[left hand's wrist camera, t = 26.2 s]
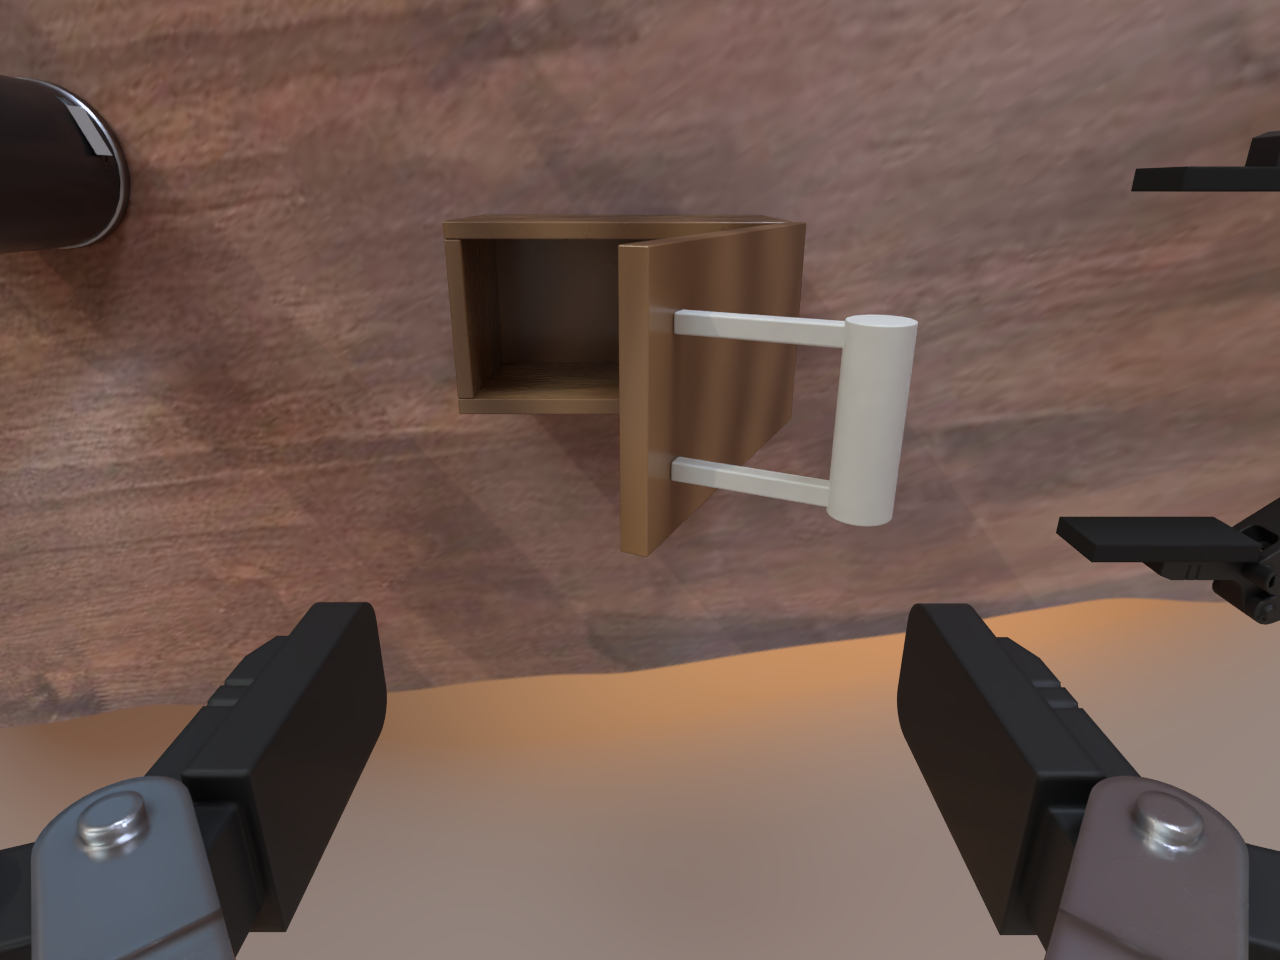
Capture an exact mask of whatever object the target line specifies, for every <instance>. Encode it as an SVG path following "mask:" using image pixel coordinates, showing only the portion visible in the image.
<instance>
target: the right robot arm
mask: <svg viewBox="0 0 1280 960" xmlns="http://www.w3.org/2000/svg"><path fill="white" fill-rule="evenodd" d="M1131 191H1280V131H1273V132H1267V133H1265V134H1262V135H1260V136H1257V137H1254V138H1252V142H1251V146H1250V149H1249V153H1248V157H1247V161H1246V164H1245V167H1167V168H1143V169H1136V172H1135V176H1134V181H1133V185H1132V190H1131ZM1056 533H1057V534H1058V535H1059V536H1060V537H1062V538H1063V539H1064V540H1065V541H1067V542H1068V543H1069V544H1070V545H1071V546H1073V547H1074V548H1075V549H1076V550H1077V551H1079V552H1080V553H1081V554H1082V555H1083V556H1085V557H1086V558H1087V559H1088V560H1090V561H1091V562H1143V563H1144V564H1145V565H1147V566H1148V567H1149V568H1151V569H1152V570H1153V571H1155V572H1156V573H1157V574H1159V575H1160V576H1163V577H1165V578H1168V579H1170V580H1185V579H1186V580H1195V579H1196V580H1214V581H1213V584H1212V589H1213V590H1214V592H1215V593H1216V594H1218V595H1219V596H1221V597H1222V598H1223V599H1225V600H1226V601H1228V602H1229V603H1230V604H1232V605H1233V606H1235V607H1236V608H1238V609H1239V610H1240V611H1242V612H1243V613H1245V614H1246V615H1248V616H1249V617H1251V618H1252V619H1253V620H1255V621H1256V622H1258V623H1260V624H1265V625H1266V624H1271V623H1274V622H1277V621H1279V620H1280V498H1278V499H1277V500H1275V501H1273V502H1272V503H1270V504H1268V505H1267V506H1265V507H1264V508H1262V509H1260V510H1259V511H1257V512H1256V513H1254V514H1252V515H1251V516H1249V517H1248V518H1246V519H1244V520H1243V521H1241V522H1240V523H1238V524H1236V525H1235V526H1233V527H1230V526H1229V525H1227V524H1225V523H1223V522H1222V521H1220V520H1218V519H1216V518H1215V517H1059V522H1058V527H1057V531H1056ZM1261 550H1262V552H1261Z"/></svg>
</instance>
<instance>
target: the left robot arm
mask: <svg viewBox="0 0 1280 960" xmlns="http://www.w3.org/2000/svg"><path fill="white" fill-rule="evenodd" d="M129 196H130V177H129V170H128V166H127V162H126V159H125V155H124V153H123V150H122V148H121V146H120V144H119V142H118V140H117V138H116V136H115V134H114V133H113V131H112V130H111V128H110V127H109V125H108V124H107V123H106V121H105V120H104V119H103V118H102V116H101V115H100V114H99V113H98V112H97V111H96V110H95V109H94V108H93V107H92V106H90V105H89V104H88V103H87V102H86V101H84V100H83V99H82V98H80V97H79V96H77V95H76V94H74V93H73V92H71V91H69V90H67V89H65V88H63V87H61V86H59V85H56V84H53V83H50V82H46V81H42V80H37V79H31V78H23V77H9V76H3V75H0V253H10V252H20V251H33V250H43V249H53V248H56V249H69V248H80V247H85V246H89V245H92V244H95V243H97V242H99V241H101V240H103V239H104V238H106V237H107V236H109V235H110V234H111V233H112V232H113V231H114V230H115V229H116V228H117V226H118V225H119V224H120V222H121V220H122V219H123V217H124V214H125V212H126V209H127V206H128V202H129ZM386 705H387V691H386V683H385V676H384V669H383V662H382V656H381V649H380V642H379V635H378V628H377V621H376V616H375V612H374V609H373V607H372V605H371V604H370V603H368V602H318V603H315V604H314V605H313V606H312V607H311V608H310V609H309V611H308V612H307V613H306V614H305V616H304V617H303V618H302V619H301V621H300V622H299V623H298V625H297V626H296V627H295V628H294V630H293V631H292V632H291V633H290V635H289V636H276V637H274V638H273V639H271V640H270V641H268V642H267V643H265V644H264V645H262V646H261V647H259V648H258V649H256V650H254V651H253V652H251V653H250V654H248V655H247V656H245V657H244V659H243V660H242V661H241V662H240V663H239V664H238V666H237V667H236V668H235V669H234V670H233V672H232V673H231V674H230V675H229V676H228V677H227V679H226V680H225V684H224V686H220V687H219V688H218V689H217V690H216V692H215V693H214V694H213V695H212V696H211V698H210V699H209V700H208V704H207V706H203V707H202V708H201V709H200V711H199V712H198V713H197V714H196V715H195V717H194V718H193V719H192V720H191V721H190V723H189V724H188V725H187V726H186V727H185V728H184V730H183V731H182V732H181V733H180V734H179V736H178V737H177V738H176V739H175V740H174V741H173V743H172V744H171V745H170V746H169V747H168V748H167V750H166V751H165V752H164V753H163V754H162V756H161V757H160V758H159V759H158V760H157V762H156V763H155V764H154V765H153V766H152V768H151V769H150V770H149V771H148V772H147V773H146V775H145V776H144V777H136V778H132V779H127V780H123V781H120V782H117V783H114V784H111V785H108V786H106V787H103V788H101V789H98V790H96V791H94V792H92V793H90V794H88V795H86V796H84V797H83V798H81V799H79V800H78V801H76V802H75V803H73V804H71V805H70V806H69V807H67V808H66V809H65V810H63V811H62V812H61V813H59V814H58V815H57V816H56V817H55V818H54V819H53V820H52V821H50V823H49V824H48V825H47V826H46V827H45V828H44V829H43V831H42V832H41V833H40V835H39V836H38V838H37V840H36V842H33V843H29V844H25V845H21V846H16V847H12V848H7V849H3V850H0V960H236V959H235V958H236V956H237V954H238V952H239V950H240V948H241V946H242V944H243V942H244V940H245V939H246V937H247V935H248V933H249V932H286V931H287V928H288V926H289V924H290V922H291V920H292V918H293V916H294V914H295V912H296V910H297V907H298V905H299V903H300V901H301V899H302V897H303V895H304V893H305V891H306V889H307V886H308V884H309V882H310V880H311V878H312V876H313V874H314V872H315V870H316V868H317V866H318V863H319V861H320V859H321V857H322V855H323V853H324V851H325V849H326V847H327V845H328V842H329V840H330V838H331V836H332V834H333V832H334V830H335V828H336V826H337V824H338V822H339V819H340V817H341V815H342V813H343V811H344V809H345V807H346V805H347V803H348V801H349V798H350V796H351V794H352V792H353V790H354V788H355V786H356V784H357V782H358V780H359V777H360V775H361V773H362V771H363V769H364V767H365V765H366V763H367V761H368V759H369V757H370V754H371V752H372V750H373V748H374V746H375V744H376V742H377V740H378V738H379V736H380V733H381V731H382V728H383V724H384V720H385V714H386ZM897 709H898V717H899V722H900V726H901V729H902V732H903V735H904V737H905V739H906V741H907V743H908V745H909V747H910V750H911V752H912V754H913V756H914V758H915V760H916V762H917V764H918V766H919V768H920V770H921V772H922V774H923V777H924V779H925V781H926V783H927V785H928V787H929V789H930V791H931V793H932V795H933V797H934V799H935V801H936V803H937V806H938V808H939V810H940V812H941V814H942V816H943V818H944V820H945V822H946V824H947V826H948V828H949V830H950V832H951V835H952V837H953V839H954V841H955V843H956V845H957V847H958V849H959V851H960V853H961V855H962V857H963V859H964V861H965V863H966V866H967V868H968V870H969V872H970V874H971V876H972V878H973V880H974V882H975V884H976V886H977V888H978V890H979V892H980V895H981V897H982V899H983V901H984V903H985V905H986V907H987V909H988V911H989V913H990V915H991V917H992V919H993V922H994V924H995V926H996V928H997V930H998V932H999V934H1000V935H1038V937H1039V939H1040V941H1041V943H1042V945H1043V947H1044V948H1045V951H1046V955H1045V959H1044V960H1280V851H1276V850H1272V849H1267V848H1263V847H1259V846H1254V845H1251V844H1247V843H1245V842H1244V839H1243V838H1242V836H1241V835H1240V833H1239V832H1238V831H1237V829H1236V828H1235V827H1234V826H1233V825H1232V824H1231V823H1230V822H1229V821H1228V820H1227V819H1226V818H1225V817H1224V816H1223V815H1222V814H1221V813H1219V812H1218V811H1217V810H1215V809H1214V808H1213V807H1211V806H1210V805H1209V804H1207V803H1205V802H1204V801H1202V800H1201V799H1199V798H1197V797H1196V796H1194V795H1192V794H1190V793H1188V792H1186V791H1184V790H1182V789H1179V788H1177V787H1174V786H1172V785H1169V784H1166V783H1163V782H1160V781H1157V780H1153V779H1148V778H1144V777H1141V776H1140V775H1139V774H1138V773H1137V772H1136V770H1135V769H1134V768H1133V767H1132V766H1131V765H1130V763H1129V762H1128V761H1127V760H1126V759H1125V758H1124V756H1123V755H1122V754H1121V753H1120V752H1119V750H1118V749H1117V748H1116V747H1115V746H1114V745H1113V743H1112V742H1111V741H1110V740H1109V739H1108V738H1107V736H1106V735H1105V734H1104V733H1103V732H1102V731H1101V729H1100V728H1099V727H1098V726H1097V725H1096V724H1095V722H1094V721H1093V720H1092V719H1091V718H1090V717H1089V715H1088V714H1087V713H1086V712H1085V711H1084V709H1083V708H1078V702H1077V701H1076V700H1075V699H1074V698H1073V697H1072V695H1071V694H1070V693H1069V692H1068V691H1067V690H1066V688H1064V687H1061V685H1060V681H1059V680H1058V679H1057V678H1056V677H1055V675H1054V674H1053V673H1052V672H1051V671H1050V670H1049V668H1048V667H1047V666H1046V665H1045V664H1044V663H1043V661H1042V660H1041V659H1040V658H1039V657H1037V656H1036V655H1034V654H1033V653H1031V652H1030V651H1028V650H1026V649H1025V648H1023V647H1022V646H1020V645H1019V644H1017V643H1016V642H1014V641H1013V640H1011V639H1009V638H1008V637H996V636H995V635H994V634H993V633H992V631H991V630H990V629H989V628H988V626H987V625H986V624H985V623H984V621H983V620H982V619H981V617H980V616H979V615H978V614H977V612H976V611H975V610H974V609H973V608H972V607H971V606H970V605H969V604H915V605H914V606H913V607H912V608H911V611H910V613H909V617H908V623H907V630H906V636H905V643H904V650H903V657H902V663H901V670H900V677H899V684H898V691H897Z"/></svg>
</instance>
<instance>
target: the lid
mask: <svg viewBox="0 0 1280 960" xmlns="http://www.w3.org/2000/svg"><path fill="white" fill-rule="evenodd" d="M805 232H806V223H802V222H785V223H777V224H770V225H762V226H755V227H747V228H740V229H732V230H725V231H717V232H710V233H703V234H695V235H688V236H680V237H673V238H665V239H658V240H650V241H643V242H635V243H628V244H620V245H618V287H619V407H620V526H621V551H622V552H626V553H630V554H635V555H639V556H644V557H648V556H649V555H650V554H651V553H652V552H653V551H654V550H655V549H656V548H657V547H658V546H659V545H660V544H661V543H662V542H663V541H664V540H665V539H666V538H667V537H668V536H669V535H671V534H672V533H673V532H674V531H675V530H676V529H677V528H678V527H679V526H680V525H681V524H682V523H683V522H684V521H685V520H686V519H687V518H688V517H689V516H690V515H691V514H692V513H693V512H694V511H695V510H697V509H698V508H699V507H700V506H701V505H702V504H703V503H704V502H705V501H706V500H707V499H708V498H709V497H710V496H711V495H712V494H713V493H714V492H715V491H716V490H717V489H718V488H719V489H725V490H730V491H736V492H742V493H748V494H754V495H759V496H765V497H771V498H777V499H783V500H788V501H794V502H800V503H806V504H811V505H817V506H823V507H827V513H828V514H829V516H831V517H832V518H833V519H835V520H837V521H840V522H843V523H846V524H850V525H855V526H879V525H883V524H886V523H888V522H889V521H890V520H891V519H892V515H893V507H894V500H895V492H896V485H897V477H898V470H899V462H900V455H901V447H902V440H903V432H904V425H905V418H906V410H907V403H908V395H909V388H910V380H911V373H912V365H913V358H914V350H915V343H916V335H917V328H918V322H917V321H916V320H913V319H910V318H905V317H899V316H889V315H856V316H851V317H848V318H846V320H845V321H835V320H822V319H808V318H799V310H800V297H801V284H802V271H803V258H804V245H805ZM797 345H808V346H820V347H831V348H842V358H841V368H840V378H839V388H838V398H837V409H836V419H835V429H834V439H833V449H832V459H831V469H830V479H829V480H824V479H817V478H811V477H805V476H798V475H792V474H786V473H779V472H773V471H767V470H760V469H754V468H748V467H741V466H742V465H743V464H744V463H745V462H746V461H748V460H749V459H750V458H751V457H752V456H753V455H754V454H755V453H756V452H757V451H758V450H759V449H760V448H761V447H762V446H763V445H764V444H765V443H766V442H767V441H768V440H769V439H770V438H771V437H772V436H774V435H775V434H776V433H777V432H778V431H779V430H780V429H781V428H782V427H783V426H784V425H785V424H786V423H787V422H788V421H789V420H790V419H791V414H792V401H793V388H794V375H795V362H796V349H797Z"/></svg>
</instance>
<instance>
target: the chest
mask: <svg viewBox="0 0 1280 960" xmlns="http://www.w3.org/2000/svg"><path fill="white" fill-rule="evenodd" d="M785 222H790V221H786V220H781V219H777V218H772V217H767V216H763V215H479V216H473V217H467V218H461V219H455V220H449V221H444V222H443V231H444V238H445V241H444V242H445V253H446V265H447V276H448V287H449V299H450V310H451V322H452V333H453V344H454V356H455V367H456V378H457V390H458V398H459V399H458V403H459V413H460V414H620V407H619V287H618V245H620V244H628V243H635V242H643V241H650V240H658V239H665V238H673V237H680V236H688V235H695V234H703V233H710V232H717V231H725V230H732V229H740V228H747V227H755V226H762V225H770V224H777V223H785Z"/></svg>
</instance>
